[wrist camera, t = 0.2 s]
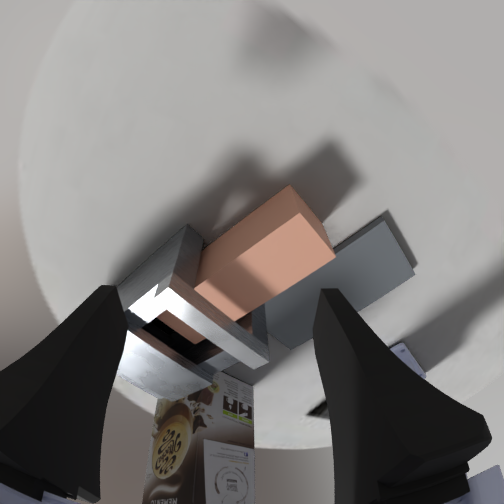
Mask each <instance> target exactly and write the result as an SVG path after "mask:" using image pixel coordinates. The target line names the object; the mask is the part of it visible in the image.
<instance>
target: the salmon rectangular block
mask: <svg viewBox="0 0 504 504" xmlns="http://www.w3.org/2000/svg"><path fill="white" fill-rule="evenodd" d="M335 257H336V255H335V253H334V251H333V248H332V246H331V243H330V241H329V239H328V236H327V234H326V232H325V229H324V227H323V225H322V223H321V222H320V220H319V219H318V218H317V217H316V215H315V214H314V213H313V212H312V211H311V209H310V208H309V207H308V206H307V204H306V203H305V202H304V201H303V199H302V198H301V197H300V196H299V195H298V193H297V192H296V191H295V190H294V189H293V187H292V186H291V185H290V184H289V185H288V186H287V187H285V188H284V189H282V190H281V191H280V192H278V193H277V194H276V195H274V196H273V197H272V198H270V199H269V200H268V201H266V202H265V203H264V204H262V205H261V206H260V207H258V208H257V209H256V210H254V211H253V212H252V213H250V214H249V215H248V216H247V217H245V218H244V219H243V220H241V221H240V222H239V223H237V224H236V225H235V226H233V227H232V228H231V229H229V230H228V231H227V232H226V233H224V234H223V235H222V236H220V237H219V238H218V239H216V240H215V241H214V242H213V243H211V244H210V245H209V246H207V247H206V248H205V249H204V250H202V251H201V255H200V260H199V266H198V271H197V276H196V282H195V287H194V290H195V291H197V292H198V293H199V294H200V295H202V296H203V297H204V298H205V299H207V300H208V301H209V302H210V303H212V304H213V305H214V306H215V307H217V308H218V309H219V310H220V311H222V312H223V313H224V314H226V315H227V316H228V317H229V318H231V319H232V320H233V321H236V320H237V319H239V318H241V317H242V316H244V315H246V314H247V313H249V312H251V311H252V310H254V309H256V308H257V307H259V306H260V305H262V304H264V303H265V302H267V301H268V300H270V299H272V298H273V297H275V296H276V295H278V294H280V293H281V292H283V291H284V290H286V289H288V288H289V287H291V286H292V285H294V284H295V283H297V282H299V281H300V280H302V279H303V278H305V277H306V276H308V275H309V274H311V273H313V272H314V271H316V270H317V269H319V268H320V267H322V266H323V265H325V264H326V263H328V262H329V261H331V260H332V259H334V258H335ZM157 318H158V319H159V320H161V321H162V322H164V323H165V324H166V325H168V326H169V327H171V328H172V329H173V330H175V331H176V332H178V333H179V334H180V335H182V336H183V337H185V338H186V339H188V340H189V341H191V342H192V343H194V344H197V343H199V342H200V341H202V340H204V339H206V337H204V336H203V335H201V334H200V333H199V332H197V331H196V330H194V329H193V328H192V327H190V326H189V325H187V324H186V323H185V322H183V321H182V320H180V319H179V318H178V317H176V316H175V315H174V314H172V313H171V312H170V311H168V310H167V309H166V310H165V311H164V312H162V313H161V314H160V315H158V316H157Z"/></svg>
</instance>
